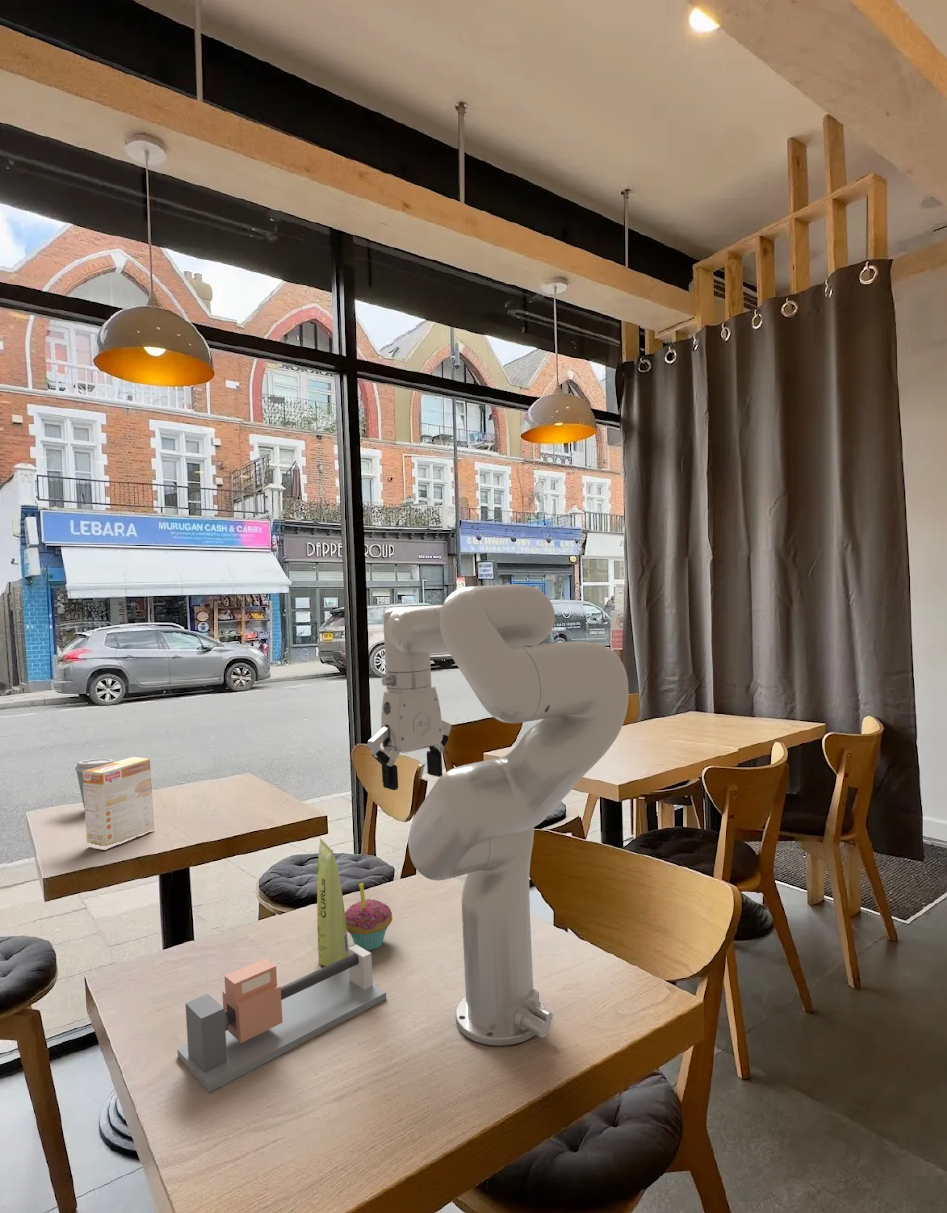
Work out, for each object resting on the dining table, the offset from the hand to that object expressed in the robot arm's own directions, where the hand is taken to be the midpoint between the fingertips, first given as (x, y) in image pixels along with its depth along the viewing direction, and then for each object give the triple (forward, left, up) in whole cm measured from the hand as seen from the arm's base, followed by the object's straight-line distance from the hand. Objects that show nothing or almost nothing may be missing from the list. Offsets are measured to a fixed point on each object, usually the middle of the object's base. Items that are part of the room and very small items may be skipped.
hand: (413, 781), depth 122 cm
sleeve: (-3, +32, -26) cm, 41 cm away
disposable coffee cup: (+134, +12, -29) cm, 138 cm away
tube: (+8, +12, -29) cm, 32 cm away
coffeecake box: (+101, +16, -29) cm, 106 cm away
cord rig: (-3, +27, -28) cm, 39 cm away
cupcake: (+8, +5, -29) cm, 30 cm away
